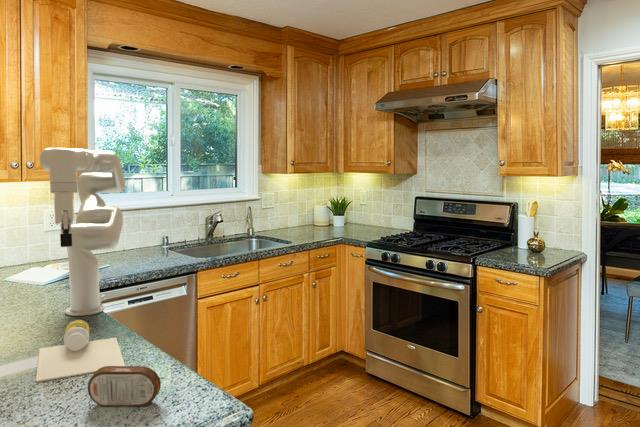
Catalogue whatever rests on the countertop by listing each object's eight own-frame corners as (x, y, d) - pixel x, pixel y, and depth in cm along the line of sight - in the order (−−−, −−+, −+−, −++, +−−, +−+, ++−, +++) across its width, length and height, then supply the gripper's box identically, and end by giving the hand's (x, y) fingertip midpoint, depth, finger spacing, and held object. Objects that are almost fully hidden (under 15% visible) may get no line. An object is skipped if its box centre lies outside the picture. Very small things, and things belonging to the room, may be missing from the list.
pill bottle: (93, 321, 146) (92, 333, 135) (85, 342, 145) (84, 356, 135) (69, 316, 143) (68, 328, 132) (61, 337, 142) (59, 351, 132)
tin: (161, 401, 108) (160, 364, 107) (157, 408, 105) (156, 370, 104) (92, 401, 107) (91, 364, 106) (86, 408, 104) (84, 370, 103)
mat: (39, 349, 138) (39, 348, 138) (116, 338, 147) (116, 337, 147) (35, 382, 116) (35, 380, 116) (125, 367, 126) (125, 365, 126)
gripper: (50, 187, 157) (53, 243, 158) (49, 189, 144) (52, 250, 145) (76, 187, 160) (78, 242, 162) (78, 189, 147) (80, 249, 149)
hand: (66, 246), depth 154 cm, fingers closed
